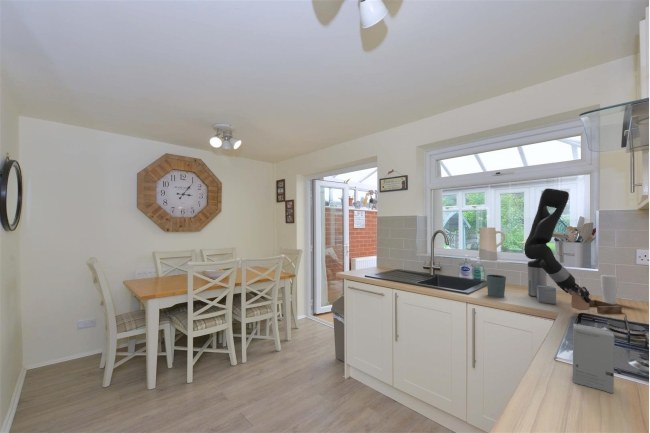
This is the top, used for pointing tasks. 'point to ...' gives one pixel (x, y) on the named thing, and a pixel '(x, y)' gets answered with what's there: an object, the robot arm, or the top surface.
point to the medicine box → (546, 294)
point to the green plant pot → (496, 285)
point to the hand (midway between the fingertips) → (583, 300)
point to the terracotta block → (579, 302)
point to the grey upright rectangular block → (593, 357)
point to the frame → (605, 307)
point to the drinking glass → (609, 288)
